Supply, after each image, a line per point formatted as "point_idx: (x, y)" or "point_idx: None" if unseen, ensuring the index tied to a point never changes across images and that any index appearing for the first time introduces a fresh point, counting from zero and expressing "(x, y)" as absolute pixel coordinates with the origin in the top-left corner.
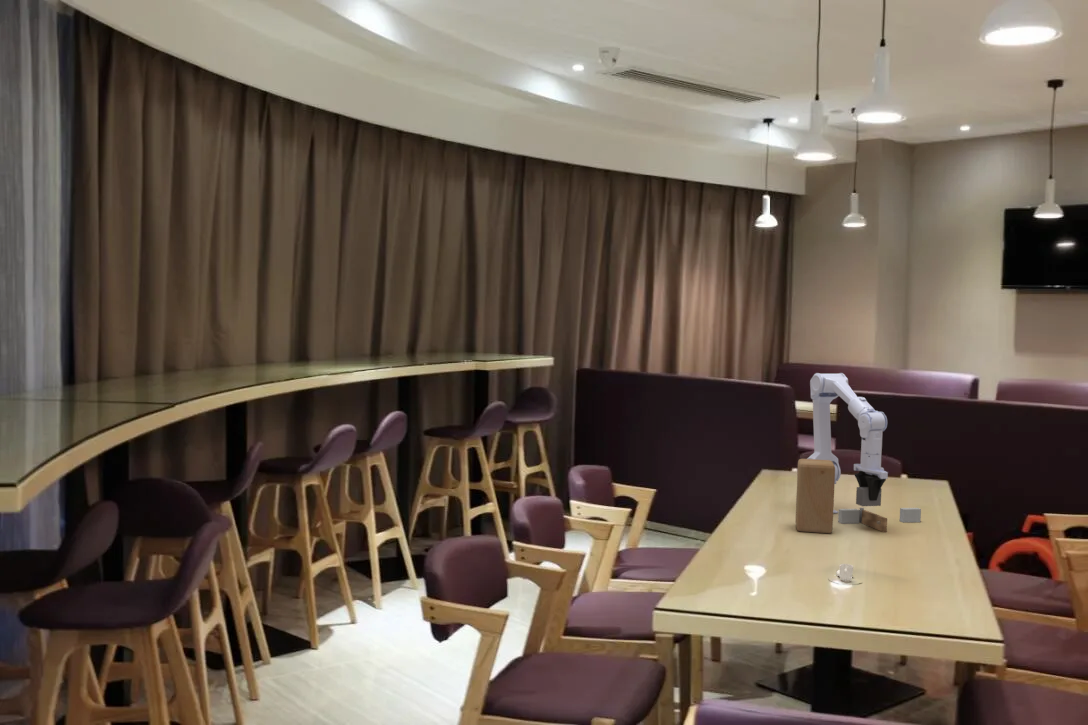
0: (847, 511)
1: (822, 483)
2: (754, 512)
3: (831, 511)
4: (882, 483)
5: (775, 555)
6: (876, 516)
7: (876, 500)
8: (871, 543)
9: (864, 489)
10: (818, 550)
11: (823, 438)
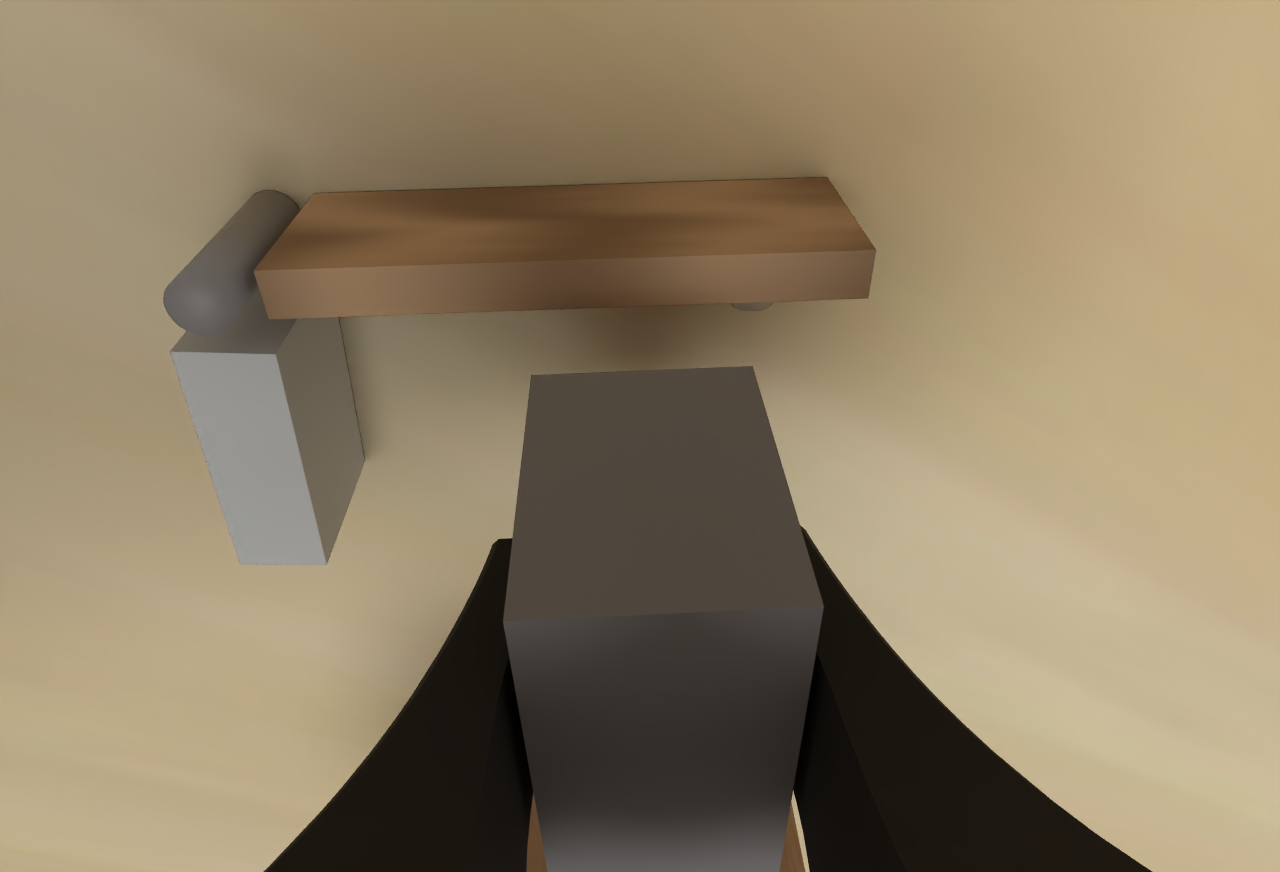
0: (314, 495)
1: None
2: (9, 845)
3: (800, 866)
4: (1056, 825)
5: None
6: (667, 299)
7: (804, 529)
8: (1142, 549)
9: (780, 858)
10: None
11: None
